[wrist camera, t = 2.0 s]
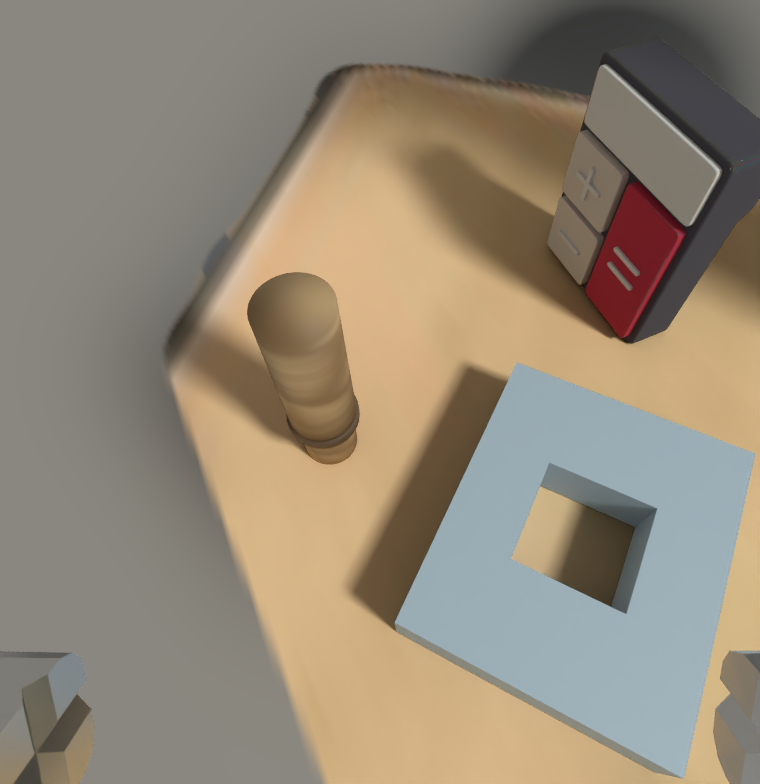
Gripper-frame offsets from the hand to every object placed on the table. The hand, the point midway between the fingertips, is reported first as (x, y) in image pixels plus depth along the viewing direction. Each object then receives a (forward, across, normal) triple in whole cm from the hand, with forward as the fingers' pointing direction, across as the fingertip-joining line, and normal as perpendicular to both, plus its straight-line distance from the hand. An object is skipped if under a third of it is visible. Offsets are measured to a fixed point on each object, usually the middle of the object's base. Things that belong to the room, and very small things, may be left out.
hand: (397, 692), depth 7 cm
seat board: (+24, -10, +12) cm, 29 cm away
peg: (+29, +4, +7) cm, 30 cm away
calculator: (+38, -15, -2) cm, 41 cm away
